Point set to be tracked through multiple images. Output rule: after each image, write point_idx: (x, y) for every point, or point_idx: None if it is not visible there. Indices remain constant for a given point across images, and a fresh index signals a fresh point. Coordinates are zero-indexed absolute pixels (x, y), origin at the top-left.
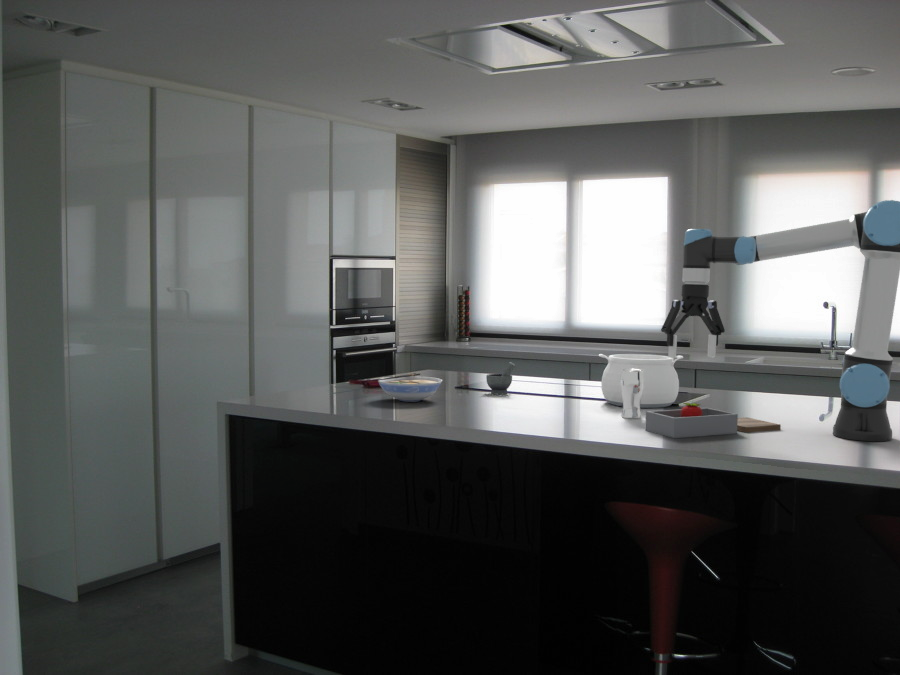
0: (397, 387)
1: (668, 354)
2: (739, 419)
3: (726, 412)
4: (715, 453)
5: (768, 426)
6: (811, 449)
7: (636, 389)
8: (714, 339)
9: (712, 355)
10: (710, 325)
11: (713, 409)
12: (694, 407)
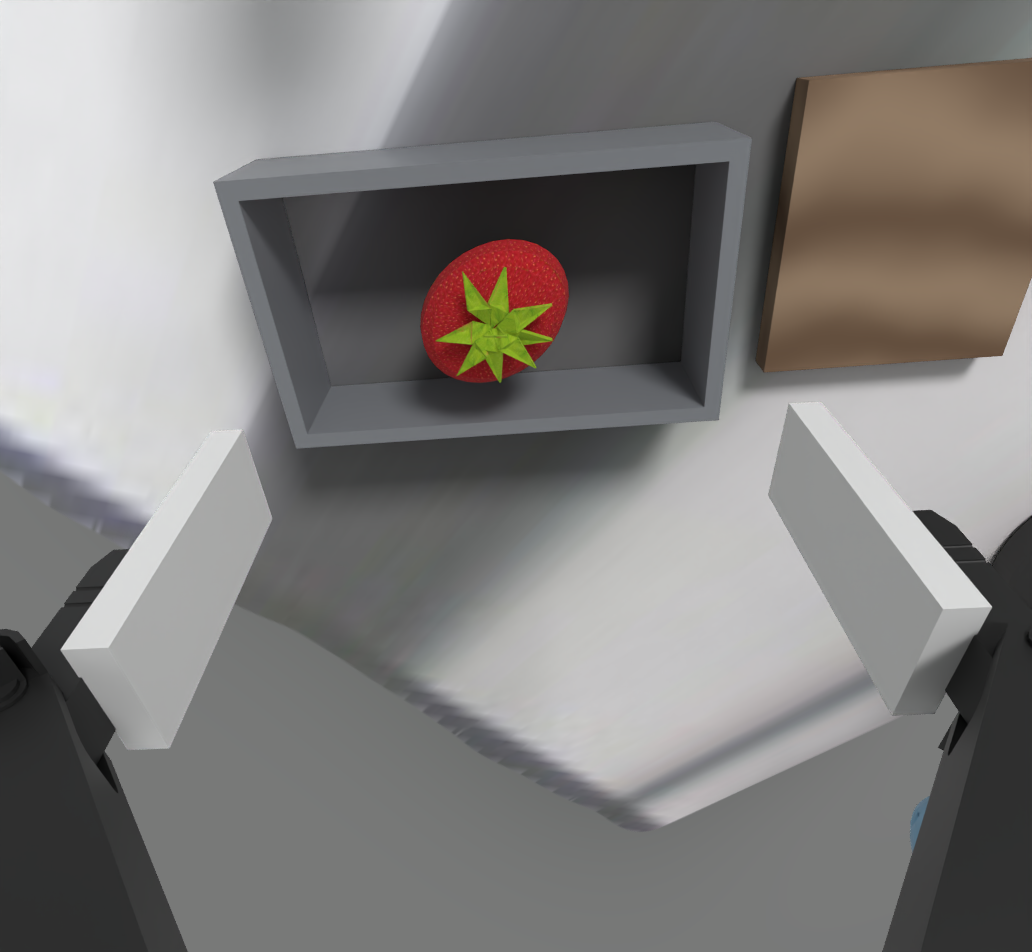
0: None
1: (199, 453)
2: (977, 126)
3: (709, 353)
4: (345, 641)
5: (914, 360)
6: (695, 659)
7: None
8: (866, 659)
9: (779, 496)
10: (905, 880)
11: (726, 228)
12: (487, 364)
